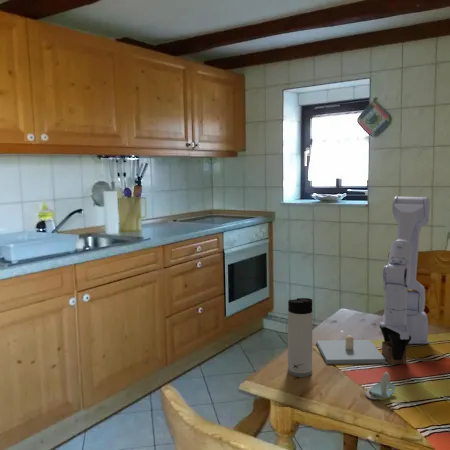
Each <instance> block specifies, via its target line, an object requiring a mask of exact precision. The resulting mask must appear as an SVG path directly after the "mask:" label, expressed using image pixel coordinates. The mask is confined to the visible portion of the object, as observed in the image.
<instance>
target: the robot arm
mask: <svg viewBox="0 0 450 450" xmlns="http://www.w3.org/2000/svg"><path fill="white" fill-rule="evenodd" d="M430 203H431V202H430V199H429V197H428V196H399V195H395V197H393V199H392V205H391V206H392V208H391V209H392V215H393V218H394V220H395V222H396V224H397V231H396V240H394V241H392V242H391V245H390V250H389V253H388V254H389V255H388V259H387V264H384V266H383V270H382V281H383V291H384V311H383V312H384V313H383V314H382V319H381V320H382V321H380V322H379V329H380V332H381V333H382V336H383V341H391V345H392V353H393V358H394V360H402V358H403V355H404V352H405V349H406V348H407V347H408V345H414V344H415V345H417V344H419V345H420V344H429V341H428V340H429V339H428V335H429V334H428V333H429V319H428V315H427V314H426V312H425V311H424V310H425V309H426V307H425V305H426V288H425V286H424V285H423V284H421V283H420V281H418V280H417V274H418V272H417V271H418V259H419V258H418V257H419V242H420V233H421V230H422V227H424V226H427V225H428V222H429V218H430V208H431V204H430ZM408 289H409V290H408Z"/></svg>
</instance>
